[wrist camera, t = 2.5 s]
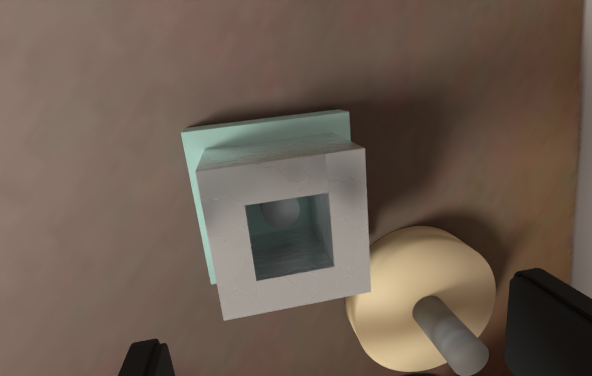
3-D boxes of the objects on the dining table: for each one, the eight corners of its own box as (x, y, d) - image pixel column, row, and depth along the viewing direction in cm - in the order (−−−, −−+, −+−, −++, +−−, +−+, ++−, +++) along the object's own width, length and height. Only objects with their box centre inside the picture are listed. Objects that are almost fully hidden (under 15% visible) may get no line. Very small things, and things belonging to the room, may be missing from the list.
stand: (185, 127, 20) (176, 136, 17) (338, 109, 21) (358, 114, 18) (212, 267, 23) (209, 299, 20) (347, 244, 24) (365, 270, 21)
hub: (339, 238, 24) (381, 298, 17) (475, 215, 25) (562, 262, 19) (348, 358, 27) (386, 448, 20) (469, 331, 28) (542, 408, 22)
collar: (204, 149, 19) (195, 171, 14) (332, 132, 20) (365, 148, 15) (225, 266, 21) (223, 320, 16) (340, 246, 22) (371, 291, 17)
